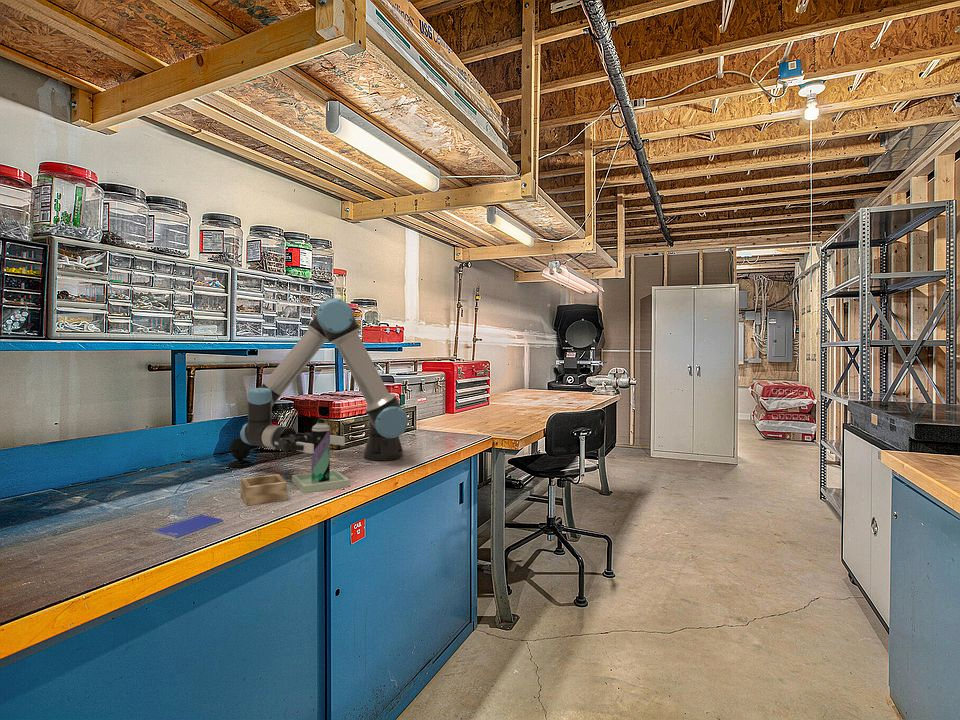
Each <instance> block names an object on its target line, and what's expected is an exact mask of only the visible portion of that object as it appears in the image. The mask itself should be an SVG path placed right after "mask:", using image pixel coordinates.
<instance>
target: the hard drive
mask: <svg viewBox="0 0 960 720" xmlns="http://www.w3.org/2000/svg"><path fill="white" fill-rule="evenodd" d="M223 522H225V521H224V519H222V518H219V517H214V516H210V515H209V516H208V515H204V514H200V515H196V516H195V517H191V518H188V519H185V520H182V521H181V520H180V521H179V522H176V523H172V524H169V525H167V526H164V527H160V528H157V529H154V530H152V531H151V536H153V537H154V536H155V537H159V538H162V539H167V540H170V539H172V540H171V541H174V540H178V541H180V540H183V539H185V538H184V537H186V538H188V537H187V536H189V535H191V536H193V535H192V534H194V535H196V534H195V533H197V534H198V532H199V533H201V532H200V531H202V530H205V529H207V530H209V529H208V528H210V527H213V526H215V525H217V524H220V523H223ZM223 524H224V523H223ZM215 527H216V526H215ZM213 528H214V527H213ZM210 529H211V528H210ZM205 531H206V530H205ZM202 532H203V531H202ZM189 537H190V536H189ZM182 538H183V539H182ZM179 539H180V540H179Z"/></svg>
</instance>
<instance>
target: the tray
mask: <svg viewBox="0 0 960 720" xmlns="http://www.w3.org/2000/svg"><path fill="white" fill-rule="evenodd" d="M291 476H292V477H291V479H292V480H291V482H292V483H293V484H294V485H295V486H296V487H297V488H298V489H299V490H300V491H301V492H302V493H303V494H307V493H315V492H320V491H321V492H322V490H323V491H329V489H330V490H334V489H336V488H337V489H342V487H344V488H349V487H348V486H350V487H351V479H350V478H348V477H347V476H346V475H343V474H342V473H341V472H340V471H338V470H336V469H332V470H331V469H330V479H329V482H324V483H317V484H312V483H311V472H308V473H307V472H306V473H299V474H292V475H291Z"/></svg>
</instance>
